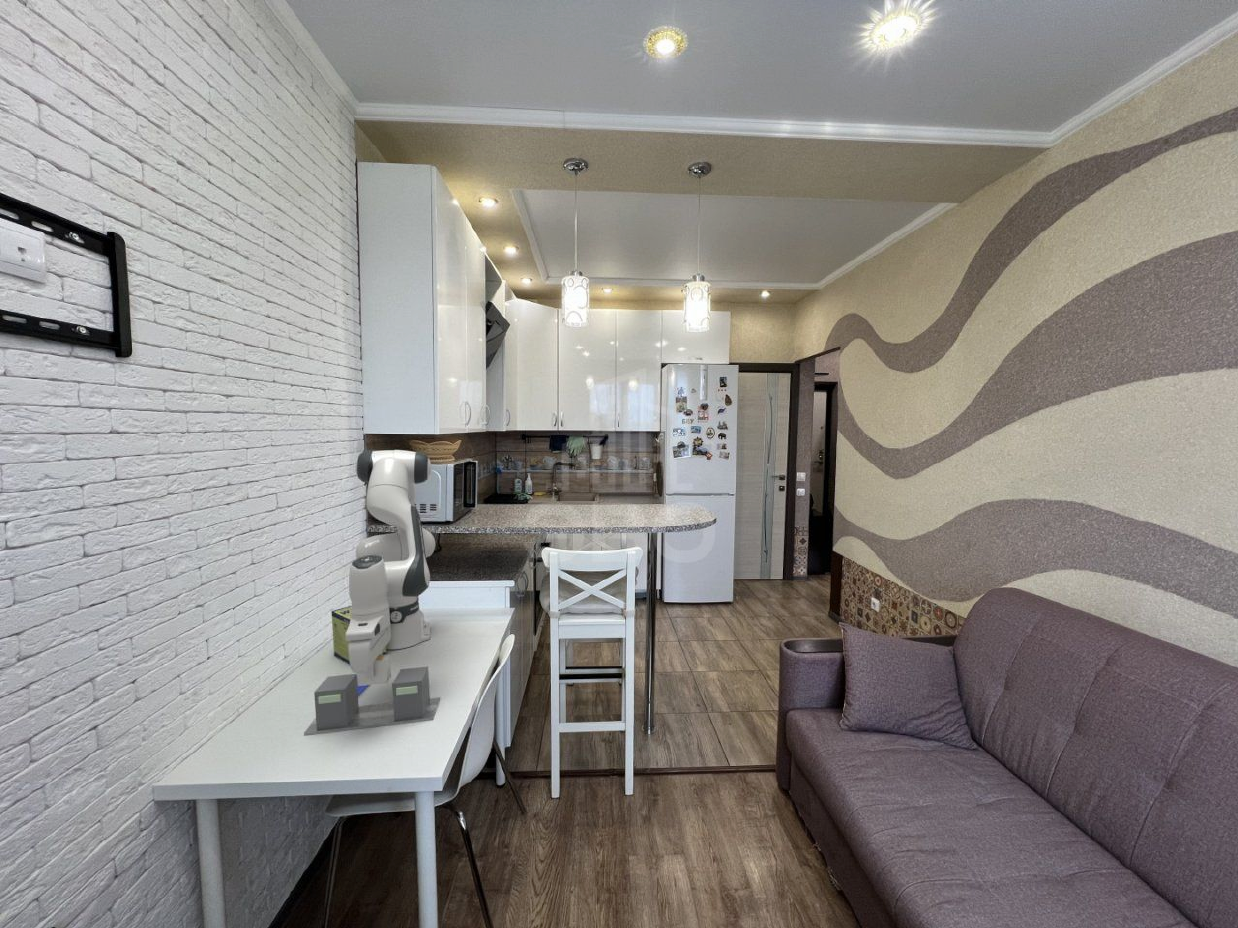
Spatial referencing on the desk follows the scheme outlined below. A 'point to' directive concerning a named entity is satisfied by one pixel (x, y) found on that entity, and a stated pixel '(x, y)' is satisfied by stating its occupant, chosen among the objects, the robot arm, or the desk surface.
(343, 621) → the protein box
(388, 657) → the loose module
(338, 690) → the block
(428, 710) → the rail plate
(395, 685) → the block
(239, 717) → the desk surface
